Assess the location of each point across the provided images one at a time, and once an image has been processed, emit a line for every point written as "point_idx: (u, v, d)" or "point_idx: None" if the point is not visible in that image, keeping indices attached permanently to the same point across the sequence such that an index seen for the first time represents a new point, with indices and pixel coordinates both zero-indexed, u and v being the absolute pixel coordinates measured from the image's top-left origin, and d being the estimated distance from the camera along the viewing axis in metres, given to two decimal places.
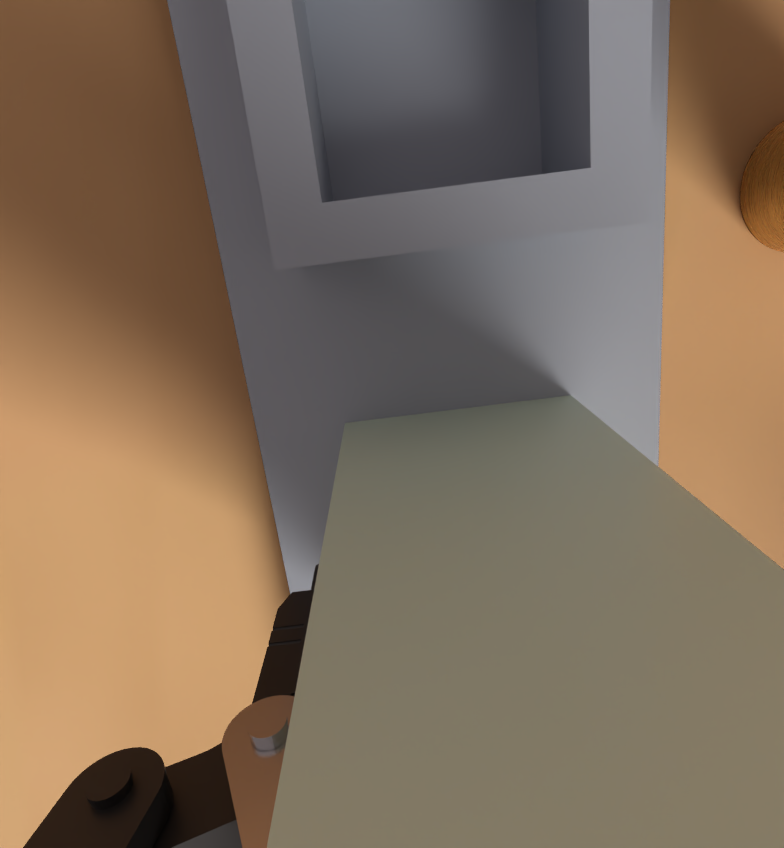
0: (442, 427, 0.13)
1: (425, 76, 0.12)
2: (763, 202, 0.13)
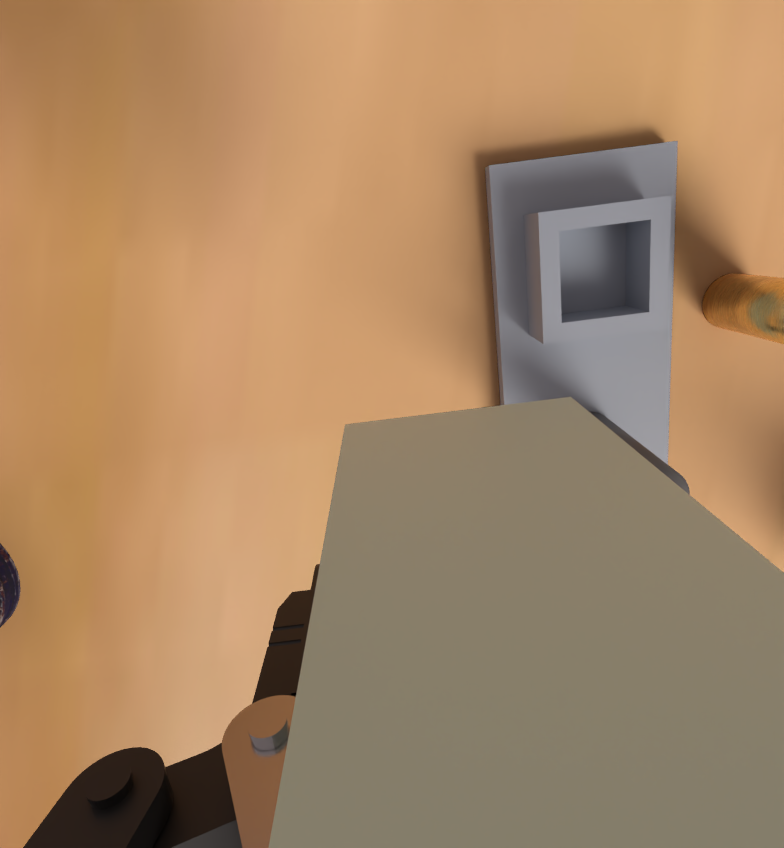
0: (442, 429, 0.13)
1: (584, 268, 0.32)
2: (710, 310, 0.33)
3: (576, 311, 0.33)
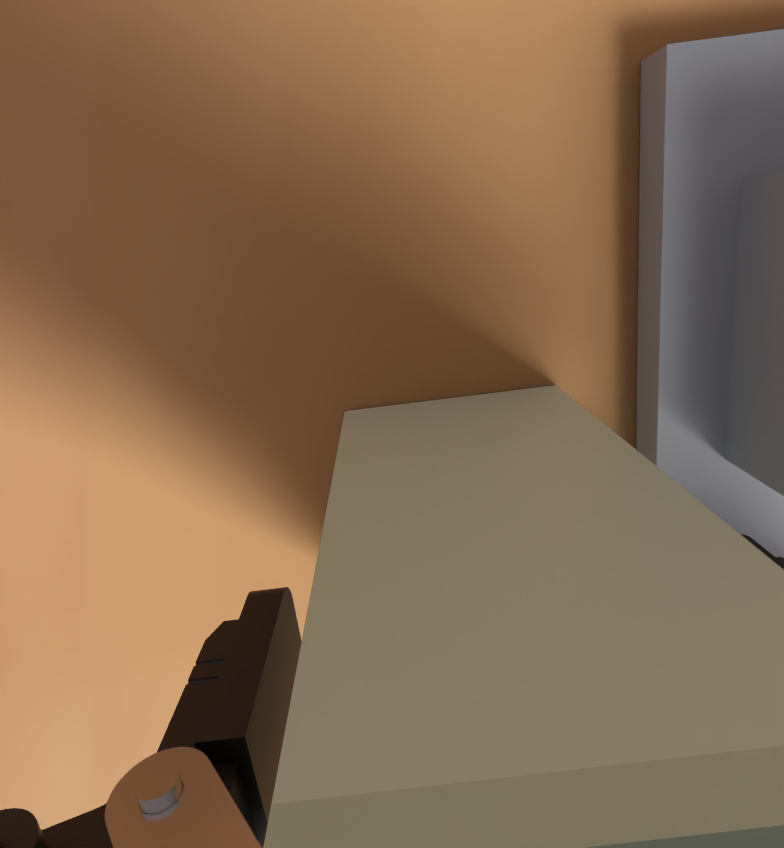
0: (435, 414, 0.14)
1: None
2: None
3: None
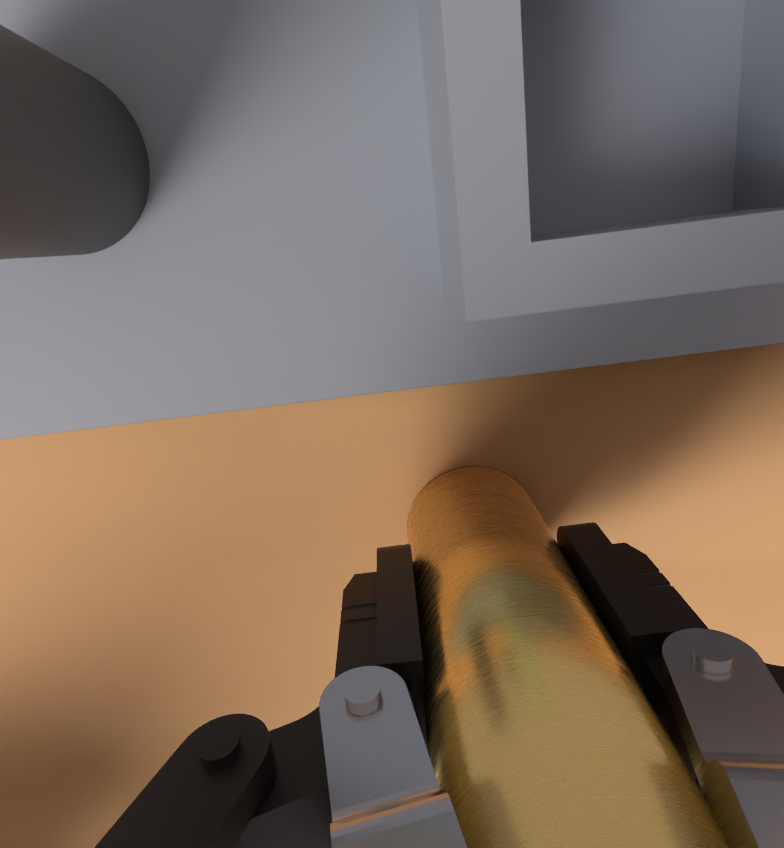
0: None
1: (614, 87, 0.10)
2: (459, 484, 0.13)
3: None
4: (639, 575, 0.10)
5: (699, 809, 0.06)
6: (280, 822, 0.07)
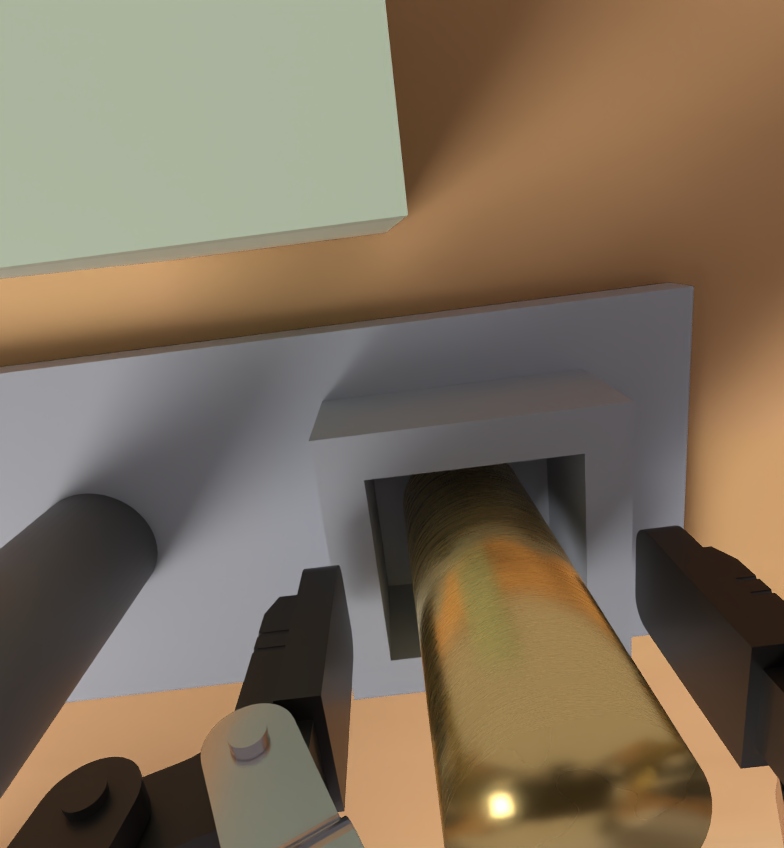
0: None
1: None
2: None
3: (376, 495, 0.15)
4: None
5: (649, 700, 0.07)
6: None
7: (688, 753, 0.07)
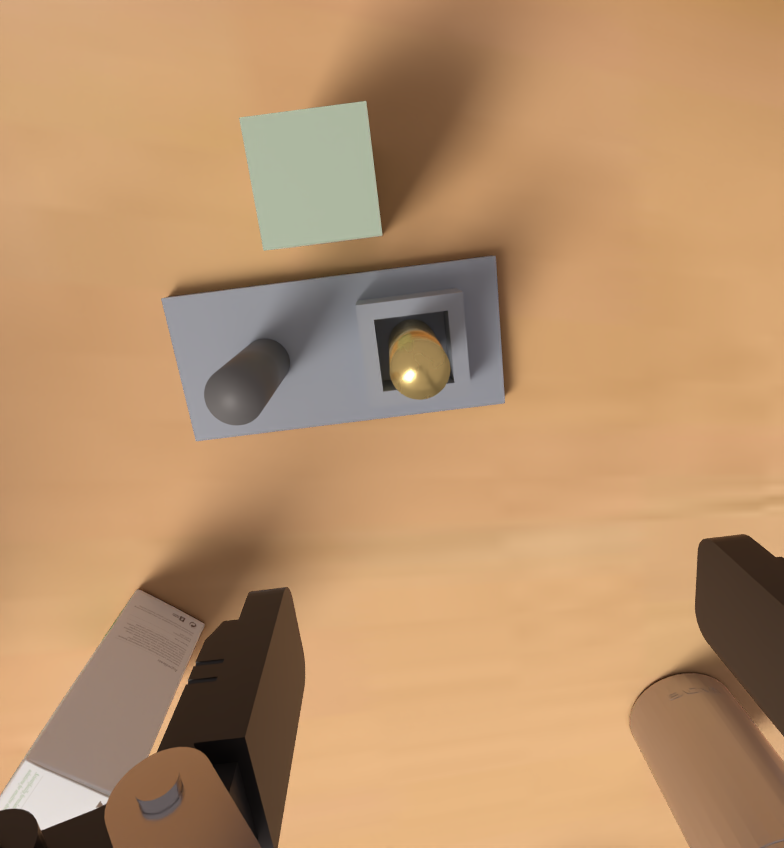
0: None
1: None
2: (405, 322, 0.37)
3: (378, 339, 0.38)
4: None
5: (438, 344, 0.30)
6: None
7: (443, 350, 0.30)
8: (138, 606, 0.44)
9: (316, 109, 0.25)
